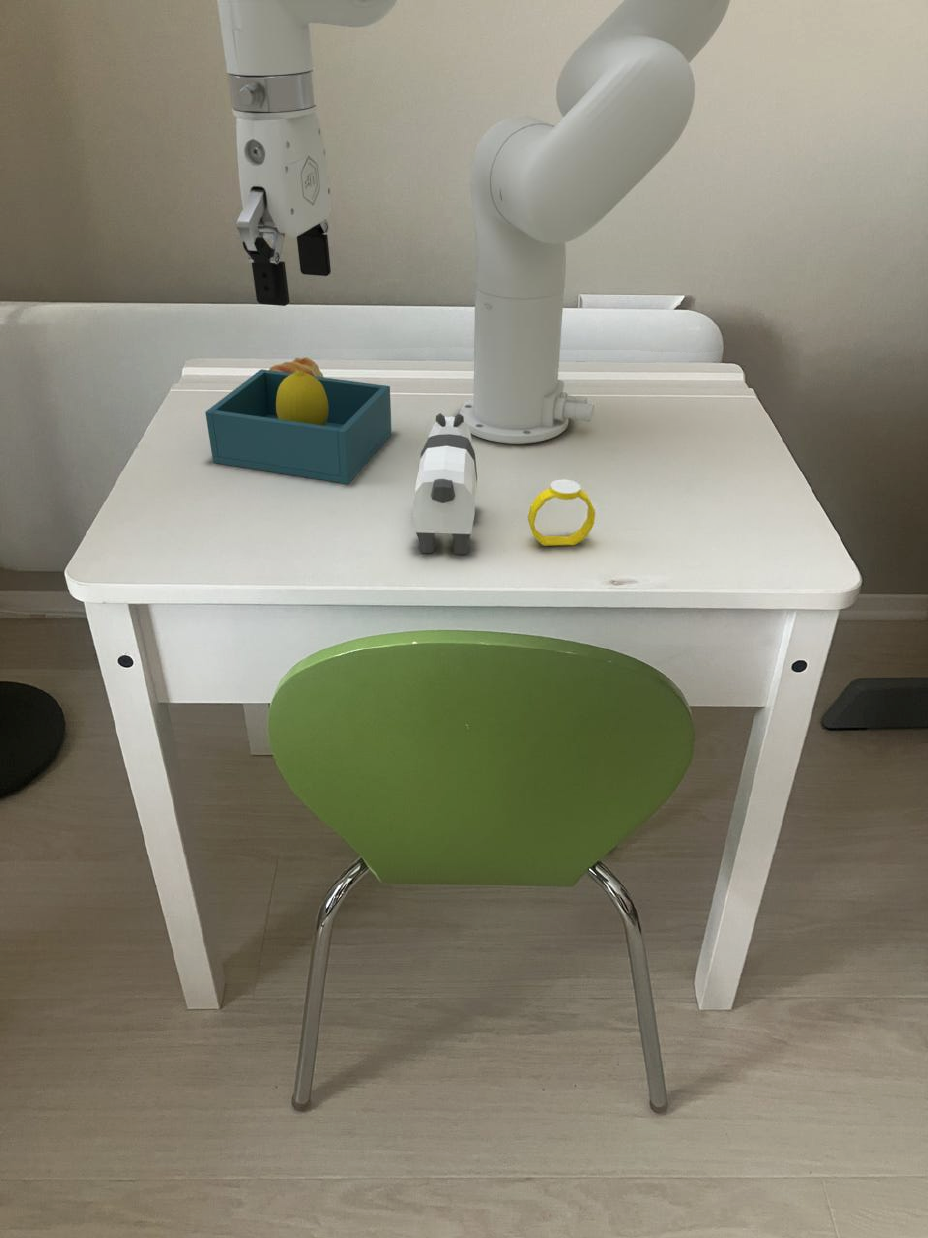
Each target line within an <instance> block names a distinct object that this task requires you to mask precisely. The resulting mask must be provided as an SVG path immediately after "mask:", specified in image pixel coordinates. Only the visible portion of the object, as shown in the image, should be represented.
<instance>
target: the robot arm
mask: <svg viewBox="0 0 928 1238" xmlns="http://www.w3.org/2000/svg"><path fill="white" fill-rule="evenodd" d="M216 2H217V3H216V4H217V10H218V19H219V24H220V31H221V38H222V46H223V52H224V59H225V68H226V74H227V82H228V89H229V95H230V103H231V111H232V116H233V117H235V118H236V119H235V121H236V123H235V127H236V128H235V129H236V133H235V134H236V155H237V169H238V181H239V190H240V197H241V204H242V209H241V212H240V214H239V215H238V218H237V220H236V228H237V231H238V234H239V236H240V239H241V240H242V247H243V249H244V251H245V252H246V253H247V260H248V262H249V263H251V267H252V276H253V284H254V289H255V297H256V301H257V303H258V304H260V305H270V306H280V307H286V306H287V305H289V304H290V295H289V285H288V278H287V268H286V262H285V261H281V259H282V258H281V257H282V252H283V248H284V241H285V237H286V236H287V237H289V238H296V243H297V252H298V254H297V255H298V262H299V270H300V273H301V274H302V275H306V276H318V277H319V276H320V277H327V276H330V274H331V273H332V271H331V270H332V269H331V260H330V249H329V248H330V247H329V237H328V233H329V227H330V226H329V222H328V220H327V219H328V217H329V216H330V215H331V213H332V210H333V203H332V192H331V186H330V178H329V177H330V176H329V169H328V162H327V155H326V150H325V148H326V147H325V143H324V138H323V137H324V136H323V132H322V127H321V124H320V119H319V116H318V107H317V97H316V96H317V95H316V86H315V73H314V62H313V53H312V51H313V50H312V41H311V31H310V29H311V28H310V24H322V25H330V26H340V27H346V28H347V27H348V28H365V27H369V26H372V25H374V24H376V23H378V22H380V21H381V20H382V19H384V18H385V17H386V16H387V15H388V14H389V13H390V12H391V11H392V10H393V8H394V7H395V6H396V4H397V2H398V0H216ZM730 3H731V0H623V1H622V2H621V3H620V4H619V5H618V6H617V7H616V8H615V9H614V10H613V11H612V12H611V13H610V14H609V15H608V16H607V18H605V20H604V21H603V22H602V23H601V24H600V25H599V26H598V27H597V28H596V29H595V30H594V31H593V32H592V33H591V34H590V35H589V36H588V37H587V38H586V39H585V40H584V41H583V42H582V43H581V44H580V45H579V46H578V47H577V49H575V50H574V52H573V53H571V55H570V57H569V58H568V60H567V61H566V62H565V64H564V65H563V67H562V69H561V71H560V73H559V76H558V78H557V83H556V89H555V90H556V91H555V98H556V105H557V108H558V110H559V113H560V115H561V117H562V118H561V119H560V121H559V122H558V123H556V125H553V124H551V123H549V122H546V121H544V120H541V119H539V118H536V117H531V116H525V115H519V116H518V115H517V116H510V117H508V118H504V119H502V120H500V121H498V122H496V123H495V124H493V125H492V126H491V127H489V129H488V130H487V131H486V132H485V133H484V134H483V136H482V137H481V139H480V140H479V142H478V143H477V146H476V147H475V150H474V153H473V157H472V161H471V167H470V195H471V197H470V198H471V205H472V206H471V207H472V215H473V226H474V242H475V279H474V280H475V283H474V326H473V327H474V332H473V333H474V334H473V337H474V338H473V388H472V389H473V390H472V392H473V394H472V395H473V396H472V398H471V399H469V400H467V401H466V402H465V403H464V404H463V405H462V406H461V408H460V409H459V414H461V415H462V416H464V421H465V423H466V425H467V427H468V428H469V430H470V434H471V435H473V436H475V437H477V438H480V439H483V440H487V441H490V442H494V443H503V444H510V445H511V444H513V445H514V444H515V445H517V444H518V445H521V444H535V443H541V442H544V441H547V440H550V439H553V438H555V437H558V436H559V435H560V434H562V433H564V431H566V429H568V425H569V419H573V420H576V421H581V422H589V423H592V421H593V419H594V413H595V404H593V403H588V397H587V396H580V395H575V396H574V395H569V394H568V392H565V391H564V388H565V381H564V380H559V371H560V370H559V368H560V353H561V341H562V340H561V339H562V325H563V310H564V296H565V284H566V268H567V254H566V253H567V250H566V249H567V247H566V243H569V242H571V241H573V240H576V239H578V238H580V237H581V236H583V235H584V234H586V233H587V232H588V231H589V230H592V228H594V227H595V226H596V225H597V224H598V223H599V222H601V221H602V220H603V219H604V218H605V217H606V216H607V215H608V214H609V213H610V212H611V211H612V210H613V209H614V208H615V207H616V206H617V205H618V204H619V203H620V202H621V201H622V200H623V199H624V198H625V197H626V196H627V195H628V194H629V193H630V192H631V191H632V190H633V189H634V188H635V187H636V186H637V185H638V184H639V183H640V182H641V181H642V180H643V179H645V177H646V176H647V175H648V174H649V173H650V172H651V171H652V170H653V169H654V168H655V167H656V166H657V165H658V164H659V163H660V162H661V160H663V158H664V157H665V156H667V155H668V153H669V152H670V151H671V150H672V148H674V146H675V145H676V143H677V142H678V140H679V139H680V137H681V136H682V134H683V132H684V130H685V129H686V127H687V124H688V122H689V120H690V118H691V114H692V112H693V109H694V108H693V107H694V104H695V95H696V84H695V77H694V73H693V70H692V67H691V65H690V63H691V62H692V61H693V60H694V59H695V58H696V56H698V54H699V53H700V52H701V51H702V50H703V49H704V47H705V46H706V45H707V44H708V43H709V42H710V40H711V39H712V37H713V36H714V35H715V33H716V32H717V30H718V28H719V27H720V26H721V24H722V23H723V20H724V19H725V15H726V13H727V11H728V8H729V6H730ZM266 239H272V240H271V244H270V245H269V243H268V242H267V241H266Z"/></svg>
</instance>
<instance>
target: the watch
mask: <svg viewBox="0 0 928 1238" xmlns="http://www.w3.org/2000/svg"><path fill="white" fill-rule="evenodd" d="M554 498H556V499H559V500H563V501H571V500H575V499H578V498H579V499H580V500H581V501H583V502H585V504H586V505H587V514H586V519H585V520H584V523H582V525H581V527H580V528H579V529H578V530H576V531H574V532H573V533H572V534H570V535H543V534H542V533H540V532H539V531H538V530H537V528H536V526H535V525H536V524H535V522H536V518H537V514H538V512H539V511H540V509H541V508H542V507H543V506H544V505H545V503H546V502H548V501H550V500H552V499H554ZM530 504H531V505H530V506H529V509H528V514H527V521H528V525H529V527H530V530H531V531H530V532H531V533H532V536H533V537H534V539H535V540H536V541H538V542H539V543H540V544H541V545H542V546H544V547H547V546H576V545H578V543H580V542H582V541H583V540H585V539H586V538H587V537H588V536H589V534H590V532H591V531H592V529H593V528H594V525H595V521H596V509H595V508H594V506H593V504H592V502H591V499H590V498H589V496H588V494H587V493H586V492H585V491H583V490H582V487H581V485H580V484H579V483H577V481H574V480H572V479H571V480H570V479H565V478H564V479H563V478H562V479H556V480H553V481H552V482H550V484H549V488H546V489H544V490H542V491H541V492H540V493H539V494H538V495H537V496H536V497H535V498H534V500H533V501H532V502H531V503H530Z"/></svg>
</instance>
